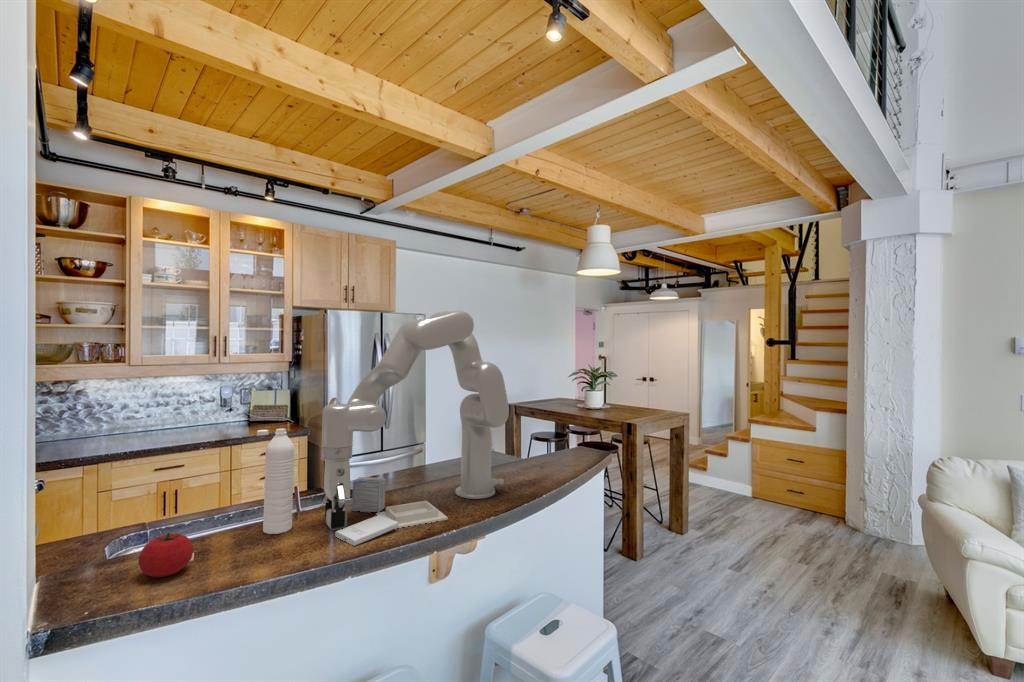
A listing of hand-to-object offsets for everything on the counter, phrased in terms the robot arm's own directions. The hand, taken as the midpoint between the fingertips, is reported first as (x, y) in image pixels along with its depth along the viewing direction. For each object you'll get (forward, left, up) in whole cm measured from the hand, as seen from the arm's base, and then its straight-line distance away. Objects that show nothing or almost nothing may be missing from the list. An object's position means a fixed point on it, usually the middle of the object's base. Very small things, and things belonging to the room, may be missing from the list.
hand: (334, 521), depth 120 cm
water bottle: (+14, -3, -1) cm, 14 cm away
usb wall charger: (0, 0, -1) cm, 1 cm away
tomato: (+34, +11, -1) cm, 36 cm away
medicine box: (-11, -7, -1) cm, 13 cm away
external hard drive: (-6, +10, -1) cm, 11 cm away
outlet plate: (-19, +4, -1) cm, 20 cm away
